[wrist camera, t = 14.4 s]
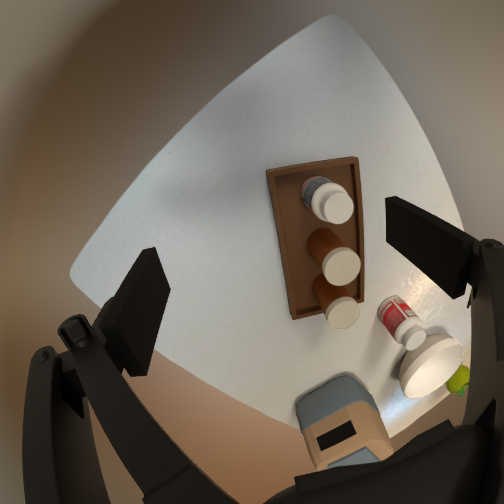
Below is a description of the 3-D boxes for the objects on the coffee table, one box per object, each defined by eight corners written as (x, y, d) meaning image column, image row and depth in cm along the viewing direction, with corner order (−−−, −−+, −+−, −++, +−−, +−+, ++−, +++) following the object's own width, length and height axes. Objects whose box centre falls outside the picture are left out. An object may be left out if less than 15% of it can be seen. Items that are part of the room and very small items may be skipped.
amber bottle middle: (304, 230, 43) (323, 255, 35) (336, 224, 43) (360, 246, 34) (308, 260, 45) (326, 289, 37) (338, 253, 45) (360, 280, 37)
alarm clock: (346, 365, 57) (382, 448, 36) (371, 390, 63) (403, 457, 42) (287, 400, 61) (306, 482, 40) (320, 419, 67) (340, 488, 46)
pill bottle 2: (377, 323, 53) (401, 358, 43) (376, 301, 51) (402, 336, 41) (402, 312, 53) (428, 345, 43) (402, 290, 50) (431, 322, 40)
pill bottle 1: (294, 201, 41) (310, 219, 33) (309, 169, 39) (330, 180, 31) (323, 215, 42) (345, 235, 34) (339, 184, 40) (365, 198, 32)
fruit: (466, 359, 66) (480, 378, 57) (449, 379, 70) (462, 399, 61) (453, 358, 64) (469, 378, 55) (436, 379, 68) (450, 400, 58)
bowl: (393, 386, 64) (405, 408, 56) (385, 348, 57) (401, 374, 49) (446, 353, 62) (461, 372, 54) (448, 309, 55) (467, 330, 47)
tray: (266, 170, 39) (268, 171, 37) (352, 156, 39) (358, 157, 37) (290, 313, 50) (292, 320, 48) (359, 296, 50) (364, 301, 48)
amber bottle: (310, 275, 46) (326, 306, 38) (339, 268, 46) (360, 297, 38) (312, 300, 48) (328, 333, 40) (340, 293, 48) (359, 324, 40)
